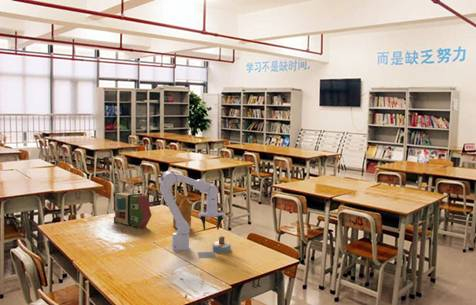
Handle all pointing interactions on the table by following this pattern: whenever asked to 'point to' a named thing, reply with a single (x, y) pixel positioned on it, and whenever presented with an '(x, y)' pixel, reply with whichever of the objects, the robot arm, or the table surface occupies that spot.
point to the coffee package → (183, 208)
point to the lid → (221, 243)
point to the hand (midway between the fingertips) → (211, 229)
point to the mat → (206, 254)
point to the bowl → (221, 249)
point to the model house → (131, 209)
